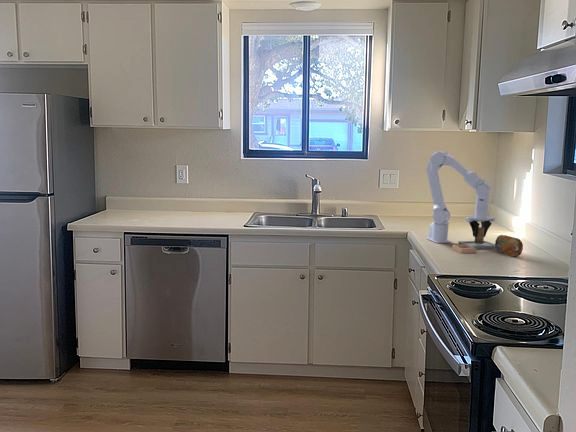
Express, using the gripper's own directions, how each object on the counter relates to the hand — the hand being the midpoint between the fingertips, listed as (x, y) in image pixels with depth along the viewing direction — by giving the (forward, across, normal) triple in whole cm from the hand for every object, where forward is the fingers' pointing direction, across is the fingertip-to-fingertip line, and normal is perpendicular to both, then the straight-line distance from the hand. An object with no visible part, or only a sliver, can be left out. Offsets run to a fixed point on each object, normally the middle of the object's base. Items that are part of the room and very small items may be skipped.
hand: (479, 236), depth 271 cm
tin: (+5, +4, -17) cm, 18 cm away
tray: (+5, 0, 0) cm, 5 cm away
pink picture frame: (+5, -13, -8) cm, 16 cm away
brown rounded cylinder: (+3, 0, 0) cm, 3 cm away
